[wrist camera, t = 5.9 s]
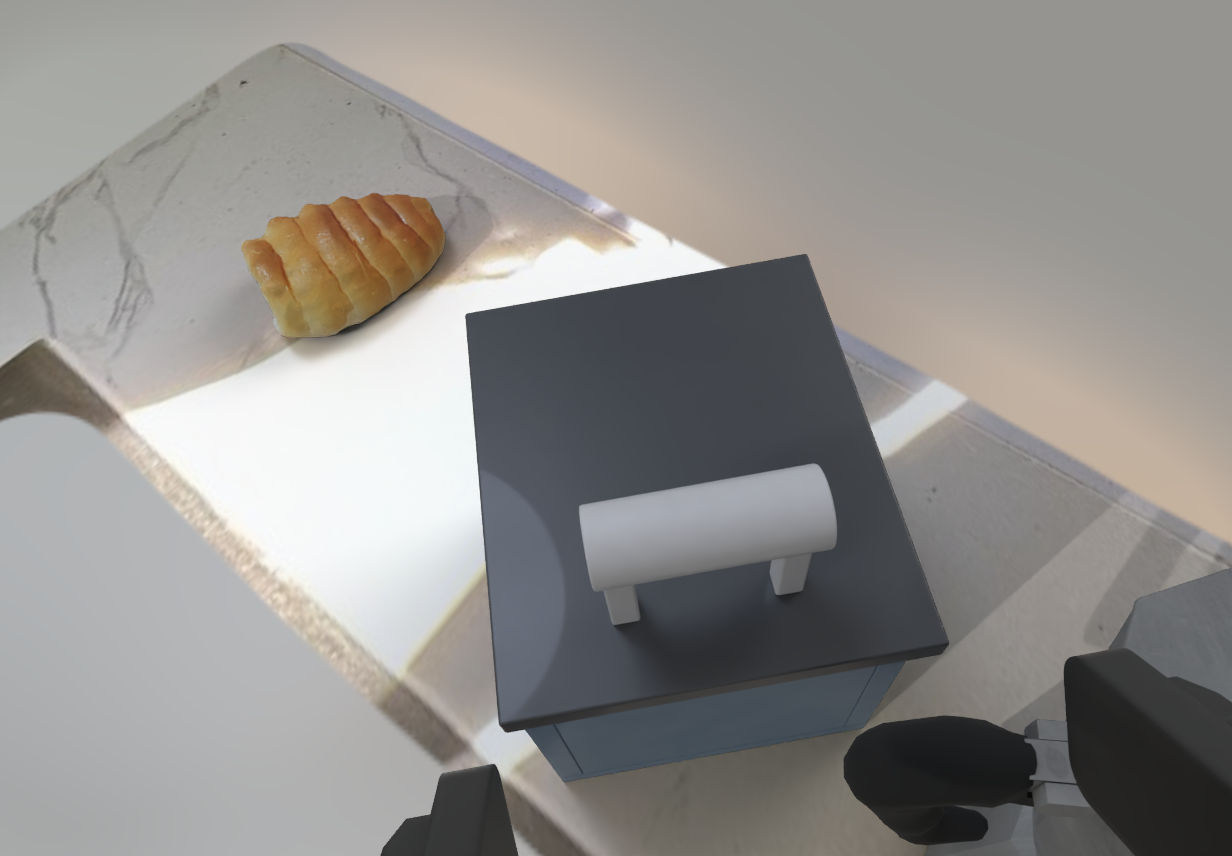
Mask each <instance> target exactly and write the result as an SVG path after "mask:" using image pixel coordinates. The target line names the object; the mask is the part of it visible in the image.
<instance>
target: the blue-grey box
mask: <svg viewBox="0 0 1232 856" xmlns="http://www.w3.org/2000/svg"><path fill="white" fill-rule="evenodd" d="M905 662H906V661H901V662H896V663H890V664H885V665H879V666H873V667H868V668H862V669H857V670H851V671H846V672H840V673H835V674H829V675H824V676H818V677H813V678H807V679H802V680H796V681H790V682H785V683H779V684H774V685H768V686H763V687H757V688H752V689H746V690H741V691H735V692H730V693H724V694H719V695H713V696H707V697H702V698H696V699H691V700H685V701H680V702H674V703H669V704H663V705H658V706H652V707H647V708H641V709H635V710H630V711H624V712H619V713H613V714H608V715H602V716H597V717H591V718H586V719H580V720H575V721H569V722H564V723H558V724H552V725H547V726H541V727H536V728H530V729H525V730H526V732H527V733H528V734H529V736H530V737H531V738H532V740H533V741H534V742H535V744H536V745H537V747H538V748H539V749H540V751H541V752H542V753H543V755H544V756H545V757H546V759H547V760H548V761H549V763H550V764H551V766H552V767H553V768H554V770H555V771H556V772H557V774H558V775H559V776H560V778H561V779H562V781H563V782H568V781H573V780H579V779H584V778H590V777H595V776H601V775H606V774H612V773H617V772H623V771H628V770H634V769H640V768H645V767H651V766H656V765H662V764H667V763H673V762H678V761H684V760H689V759H695V758H700V757H706V756H711V755H717V754H722V753H728V752H733V751H739V750H744V749H750V748H755V747H761V746H766V745H772V744H777V743H783V742H789V741H794V740H800V739H805V738H811V737H816V736H822V735H827V734H833V733H838V732H844V731H849V730H855V729H860V728H863V727H864V726H865V724H866V723H867V721H868V720H869V718H870V717H871V715H872V713H873V712H874V710H875V709H876V707H877V706H878V704H879V702H880V701H881V699H882V698H883V696H884V695H885V693H886V691H887V690H888V688H889V687H890V685H891V684H892V682H893V680H894V679H895V677H896V676H897V674H898V673H899V671H900V670H901V668H902V666H903V665H904V663H905Z"/></svg>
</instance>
